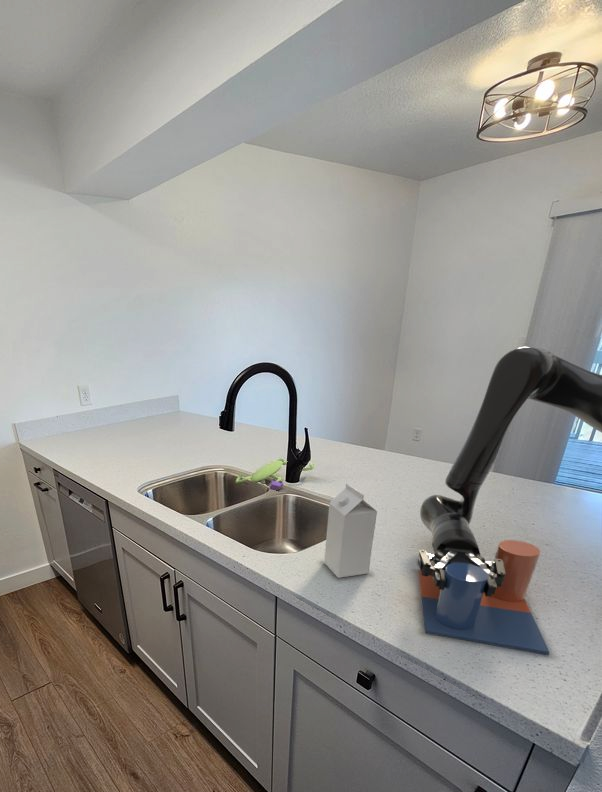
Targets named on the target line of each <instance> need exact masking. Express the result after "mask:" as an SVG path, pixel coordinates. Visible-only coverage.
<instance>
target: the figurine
mask: <svg viewBox="0 0 602 792" xmlns="http://www.w3.org/2000/svg"><path fill="white" fill-rule="evenodd" d="M287 462H288V461H285V458H279V459H277V460H272V461H271V462H269V463H266V464H265V465H263V466H261V467H259V468H258V469H257V470H256V471H254V472H253V473H252V474H251V475H249V476H245V477H244V478H243V474H242V473H240V474H239V475H238V476H237V478H236V479H235V484H236V485H241V484H243V483H245V482H246V481H249V480H250V481H251V482H253V483H255V484H257V483H259V482H260V484H262V485H265V484H266V479H268V478H272V479H271V480H270V483H268V486H269V490H272V491H279V490H282V488H283V487H284V482H283V481H282V478H281V477H279V476H277V475H275V474H276V473H278V471H279V470H280V469H281V468H282V466H288V465H287ZM308 465H309V467H303V469H302V471H301V472H306V471H312V470H314V468H315V466H314V463H313V462H310V463H308Z"/></svg>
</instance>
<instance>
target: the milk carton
mask: <svg viewBox="0 0 602 792" xmlns="http://www.w3.org/2000/svg"><path fill="white" fill-rule="evenodd" d="M364 497H365V494H364V493H362V492H361V491H359V490H357V489H356V488H355V487H353V486H352V485H350V484H348V483H345V488H344V489H342V491H340V492H339V494H338V495H336V496H335V497H334V498H333V499H332V500H331V501H330V502H329V505H328V515H327V526H326V537H325V540H326V541H325V548H324V558H323V559H324V562H323V563H324V564H325V566H326V567H327V568H328V569H329V570H330V571H331V572H332V574H334V575H335V576H336V577H337V578H338V579H340V578H347V577H354V576H359V575H367V574H369V571H370V565H371V564H370V563H371V558H372V557H371V555H372V549H373V542H374V535H375V528H376V522H377V514H378V511H377V510H376V509H375V508H374V507H373V506H371V504H369V503H368V502H367V501H365V500H364Z"/></svg>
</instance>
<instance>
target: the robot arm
mask: <svg viewBox="0 0 602 792" xmlns="http://www.w3.org/2000/svg"><path fill="white" fill-rule="evenodd" d="M528 400H530V401H535V402H539V403H542V404H544V405H548V406H551V407H553V408H558V409H560V410H563V411H565V412H567V413H569V414H571V415H573V416H575V417H576V418H577V419H579V420H581V421H582V422H583V423H585V424H586V425H588V426H589V427H591V428H593V429H594V430H596V431H598V432H600V433H602V374H600V373H596V372H593V371H591V370H588V369H586V368H583V367H581V366H578V365H576V364H574V363H572V362H570V361H568V360H566V359H564V358H562V357H559V356H558V355H557V354H554V353H552V352H550V351H549V350H547V349H544V348H540V347H533V346H521V347H517V348H514V349H512V350H510V351H508V352H507V353H505V354H504V355H503V356H502V357H501V358H500V359H499V360H498V361H497V363H496V364H495V365H494V368H493V371H492V373H491V376H490V379H489V382H488V385H487V388H486V391H485V394H484V397H483V400H482V403H481V405H480V408H479V411H478V413H477V415H476V418H475V420H474V423H473V424H472V426H471V429H470V432H469V433H468V435H467V437H466V440H465V441H464V443H463V445H462V447H461V449H460V451H459V452H458V455H457V457H456V458H455V460H454V462H453V464H452V465H451V468H450V470H449V472H448V473H447V475H446V477H445V481H444V483H445V485H446V487H447V488H449V489H450V490H452V491H454V492H455V493H457V494H458V495H460V496H461V499H460V500H457V499H454V498H450V497H446V496H444V495H442V494H441V495H440V494H433V495H430V496H427V497H426V498H425V499H424V500H423V502H422V504H421V505H420V508H419V509H420V510H419V516H420V517H419V518H420V519H421V522H422V524H423V525H424V526H425V527H426V529H427V530H428V531H429V532H430V533H431V534H432V538H431V541H432V542H431V546H432V549H433V554H431V553H428V552H427V550H425V549H420V550H419V551H418V557H417V564H418V568H419V569H420V571H421V575H423V576H429V575H430V576H432V578H433V579H434V585H435V586H438V587H439V589H440V590H444V587H445V583H446V578H445V573H444V572H445V568H446V566H447V565H448V564H451V563H468V564H472V565H475V566H478V567H480V568H482V569H483V570H485V571H486V572H487V573H488V580H487V583H486V587H485V590H484V593H485V596H488V597H491V596H492V594H495V591H496V588H497V586H502V584H503V580H504V577H505V575H506V572H505V568H504V563H503V560H501V559H495V558H494V559H495V561H494V560H493V561H492V560H491V561H490V560H486V558H484V557H483V556H482V555H481V550H480V548H479V544H478V543H477V540H476V537H475V534H474V533H473V531H472V529H471V528H470V524H471V522H472V518H473V514H474V509H475V504H476V501H477V498H478V495H479V492H480V490H481V488H482V486H483V485H484V483H485V481H486V479H487V478H488V475H489V474H490V472H491V471H492V469H493V467H494V465H495V463H496V461H497V458H498V456H499V454H500V451H501V448H502V445H503V441H504V440H505V439H504V438H505V437H506V434H507V431H508V429H509V427H510V425H511V423H512V422H513V420H514V418H515V416H516V415H517V413H518V412H519V410H520V409H521V408H522V407H523V406H524V404H525V402H526V401H528ZM431 562H433V563H434V564H435V565H432V563H431Z"/></svg>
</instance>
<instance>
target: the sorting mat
mask: <svg viewBox="0 0 602 792" xmlns="http://www.w3.org/2000/svg"><path fill="white" fill-rule="evenodd" d="M418 577H419V578H418V579H419V587H420V589H419V590H420V596H421V605H422V606H421V607H422V615H423V624H424V632H425V633H424V634H429V635H434V636H439V637H445V638H451V639H456V640H463V641H468V642H474V643H480V644H484V645H485V644H486V645H492V646H496V647H501V648H502V647H503V648H507V649H514V650H518V651H525V652H530V653H536V654H542V655H549V654H550V649H549V648H548V645H547V644H546V641H545V639H544V637H543V635H542V633H541V631H540V629H539V627H538V623H537V621H536V620H535V618H534V615H533V614H532V612H531V608H530V607H529V605H528V603H527V600H526V597H525V598H524V599H523V600H522V601H519V602H509V601H504V600H500V599H497V598H495V597H493V596H491V597H488V596H485V593H484V594H483V597H482V600H481V604H480V607H479V611H478V614H477V618H476V621H475V624H474V626H473V627H472V628H470V629H466V630H459V629H453V628H450V627H447V626H445V625H443V624H441V623H440V622H439V621H438V620H437V619H436V618H435V610H436V606H437V601H438V597H439V593H440V589H439V587H438V586H435V585H434V579H433V578H432V576H430V575H429V576H423V575H421V571H420V568H419V569H418Z"/></svg>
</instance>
